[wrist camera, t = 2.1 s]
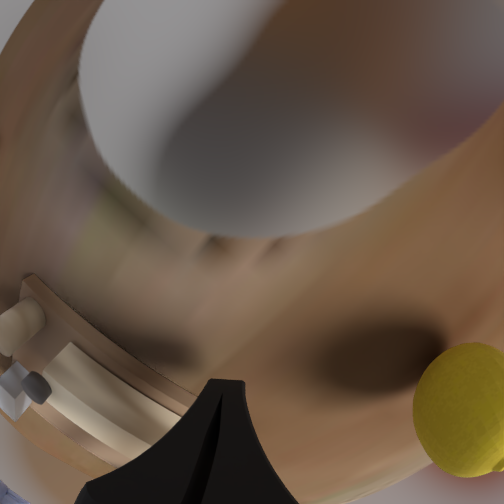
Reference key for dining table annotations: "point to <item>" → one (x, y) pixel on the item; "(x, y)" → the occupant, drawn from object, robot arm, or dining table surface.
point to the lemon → (463, 410)
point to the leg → (99, 402)
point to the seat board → (51, 344)
